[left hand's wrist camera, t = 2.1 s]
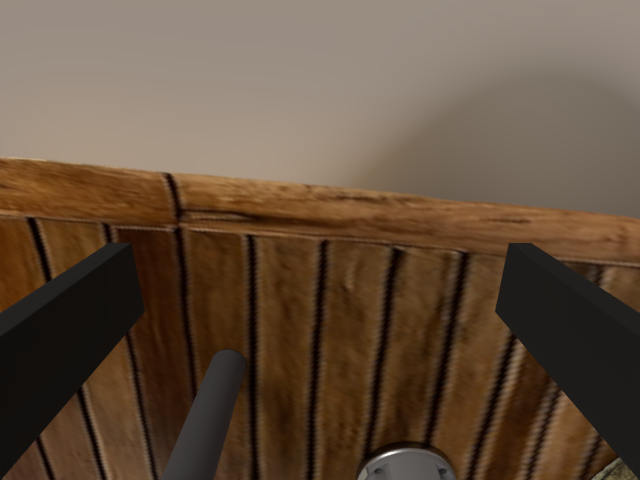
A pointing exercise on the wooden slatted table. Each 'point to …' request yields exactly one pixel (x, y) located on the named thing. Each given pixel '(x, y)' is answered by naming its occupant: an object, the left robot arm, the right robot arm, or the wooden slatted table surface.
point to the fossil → (616, 472)
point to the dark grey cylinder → (207, 420)
